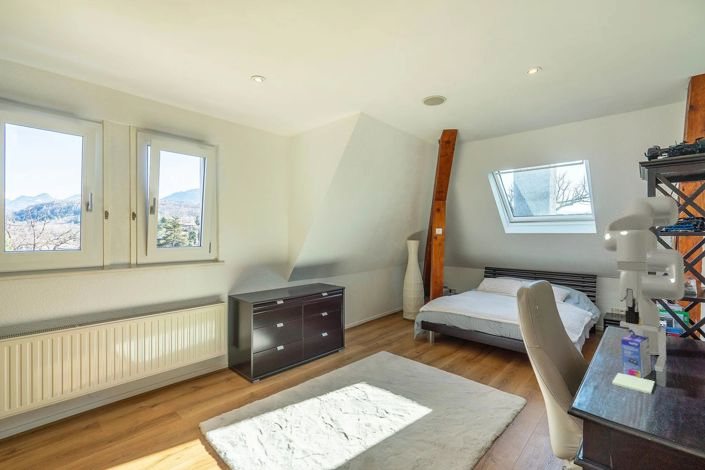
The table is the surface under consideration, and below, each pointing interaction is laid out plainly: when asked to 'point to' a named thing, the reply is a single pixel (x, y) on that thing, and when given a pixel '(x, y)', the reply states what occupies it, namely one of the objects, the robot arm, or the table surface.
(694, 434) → the table surface
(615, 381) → the felt pad
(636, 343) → the ink cartridge box
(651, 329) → the grey angled frame
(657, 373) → the rail block
